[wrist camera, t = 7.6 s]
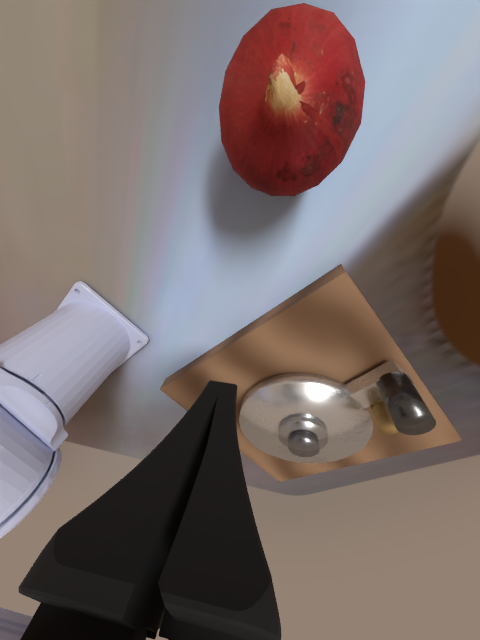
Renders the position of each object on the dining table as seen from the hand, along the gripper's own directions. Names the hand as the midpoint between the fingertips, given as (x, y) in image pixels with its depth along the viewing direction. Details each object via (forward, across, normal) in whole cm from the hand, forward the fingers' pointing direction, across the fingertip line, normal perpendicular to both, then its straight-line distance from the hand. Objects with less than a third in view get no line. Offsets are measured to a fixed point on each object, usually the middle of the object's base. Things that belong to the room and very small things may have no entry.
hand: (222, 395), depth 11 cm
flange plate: (+7, -8, +9) cm, 14 cm away
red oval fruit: (+10, -1, -11) cm, 15 cm away
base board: (+9, -6, +11) cm, 16 cm away
